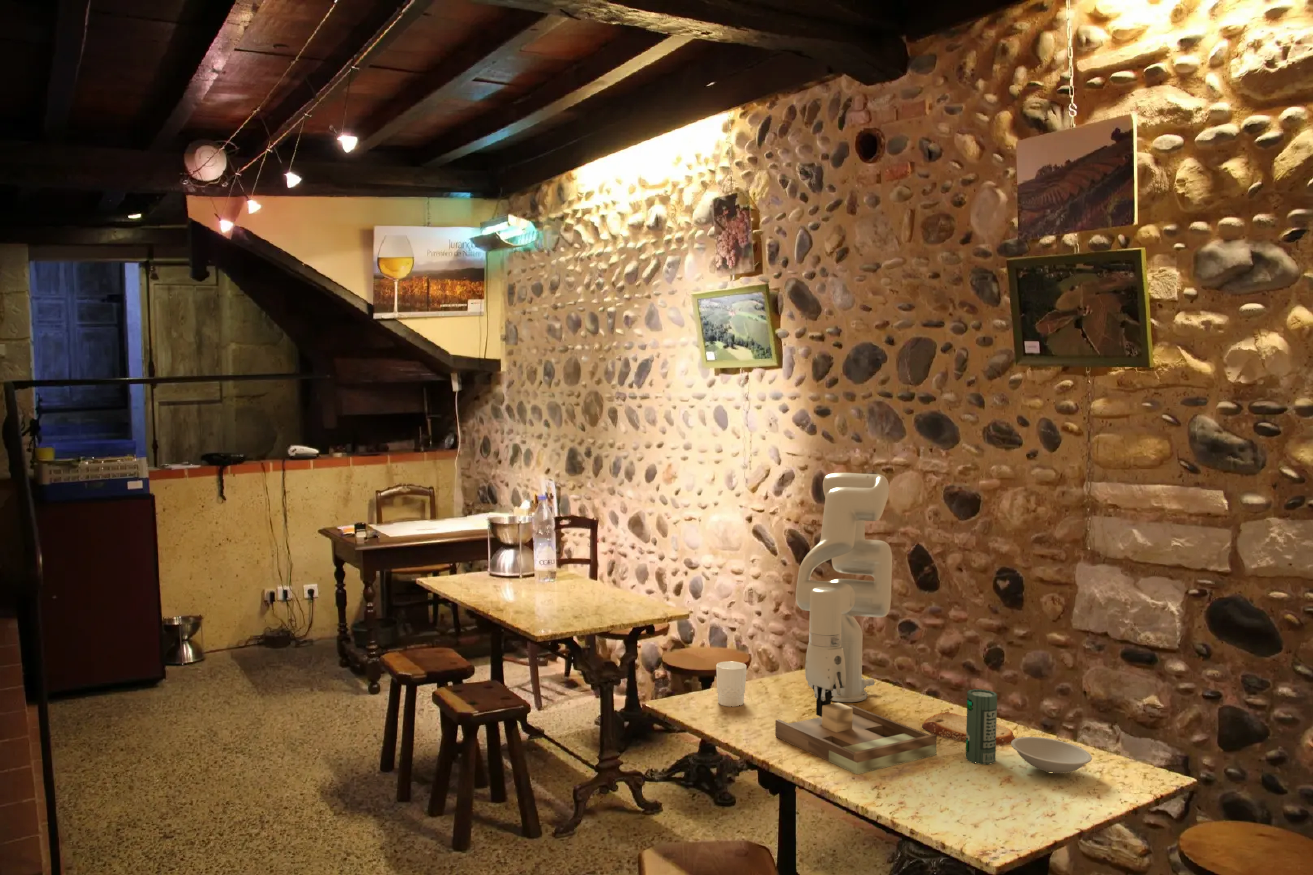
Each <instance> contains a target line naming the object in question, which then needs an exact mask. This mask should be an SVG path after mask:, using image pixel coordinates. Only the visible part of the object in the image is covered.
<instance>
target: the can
mask: <svg viewBox="0 0 1313 875" xmlns="http://www.w3.org/2000/svg"><path fill="white" fill-rule="evenodd" d="M966 695H967V696H966V716H967V724H966V741H965V760H967V761H968V762H971V763H973V762H974V764H977V763H980V765H991V764H990V763H992V764H995V763H996V758H997V757H996V753H997V749H996V748H997V744H996V724H997V720H998V719H997V716H998V715H997V714H998V711H997V710H998V709H997V708H998V694H997V693H996V692H995V691H992V690H987V689H979V688H978V689H975V688H973V689H969V690H968V691H967V692H966ZM975 762H976V763H975Z"/></svg>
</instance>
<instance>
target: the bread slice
mask: <svg viewBox="0 0 1313 875" xmlns="http://www.w3.org/2000/svg"><path fill="white" fill-rule="evenodd" d="M966 724H967V715H962V714H957V713H955V712H950V711H945V712H938V713H935V714H934V715H931V716H930V717H928V718H926V719H925V720H924V722H923V723H922V725H921V728H923V729H922V730H925V731H928V732H929V733H931V734H935V735H937V736H938V737H940V738H941V737H942V738H945V739H949V740H953V741H958V742H966ZM1014 739H1016V737H1015V735H1014V732H1013V731H1012V730H1011V729H1010V728H1009V727H1007V726H1004V725H1001V724H999V723H996V745H1005V743H1006V744H1010V743H1009V742H1012V740H1014Z"/></svg>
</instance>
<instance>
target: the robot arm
mask: <svg viewBox="0 0 1313 875" xmlns="http://www.w3.org/2000/svg"><path fill="white" fill-rule="evenodd" d="M822 490H823V495H824V498H825V499H824V508H823V514H822V515H823V516H822V523H821V532H820V534H821V535H820V540H819V542H818V543H817V544H816V545H815V546H814V547H813V548H811V549H810V550H809V552H807V554H806V555H805V557H803V560H802V561H801V564H800V566H799V567H798V574H797V582H796V586H795V587H796V589H795V601H796V604H797V606H798V607H799V609H801V610H802V611H807V612H809V626H808V628H809V634H808V643H807V644H808V645H807V647H806V648H807V649H806V655H805V666H804V667H805V669H804V672H805V673H804V675H805V676H804V677H805V680H806V681H807V685H808V687H810V688H811V689H812V690H813V693H814V699H816V700H815V701H816V702H815V703H816V707H815V715H816V716H818V717H822V706H823V705H828V704H832V701H833V702H836V703H858V702H862V701H864V700H867V698H868V692H867V691H866V690H865V689H866V688H867V687H872V686H875V683H876V681H875V679H874V678H872V677H871V678H867V679H866V678H863V640H864V639H863V636H864V635H863V630H862V627H861V625H860V624H859V622H858V621H857V619H856V618H855V617H866V618H868V617H869V618H885V617H886V616H887V615H889V613H890V609H891V604H892V603H891V601H892V580H893V579H892V576H893V553H892V548H891V545H889V543H887V542H886V541H884V540H879V539H866V537H865V530H866V522H867V521H868V522H877V521H878V520H880V519H881V518H882V516H883V513H884V510H885V508H886V504H887V501H888V499H889V494H890V485H889V480H888V479H887V477H886V476H884V475H883V474H878V473H857V472H856V473H855V472H834V473H829V474H827V475H825V476H824V478H823V481H822ZM829 560H831V565H832V568H833V570H834V571H835V572H837V573H840V574H846V575H847V574H849V575H859V576H860V575H861V576H871V577H872V578H873V579H874V580H866V579H865V580H863V579H857V578H856V579H855V578H835V579H832V580H829V581H825V580H814V579H813V580H811V576H812V574H813V571H814V570H815V569H816V568H817V567H818V566H819V565H821V564H822V563H825V562H827V561H829Z"/></svg>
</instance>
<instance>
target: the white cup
mask: <svg viewBox="0 0 1313 875" xmlns="http://www.w3.org/2000/svg"><path fill="white" fill-rule="evenodd" d="M715 666H716V669H715V670H716V693H717V703H718V704H719V705H721V706H724V707H731V706H732V707H739V705H740V706H742V705H743V703H745V693H746V681H747V680H746V679H747V678H746V677H747V665H746V664H745V663H744V662H739V661H731V660H729V661H720V662H717V664H716V665H715Z"/></svg>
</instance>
